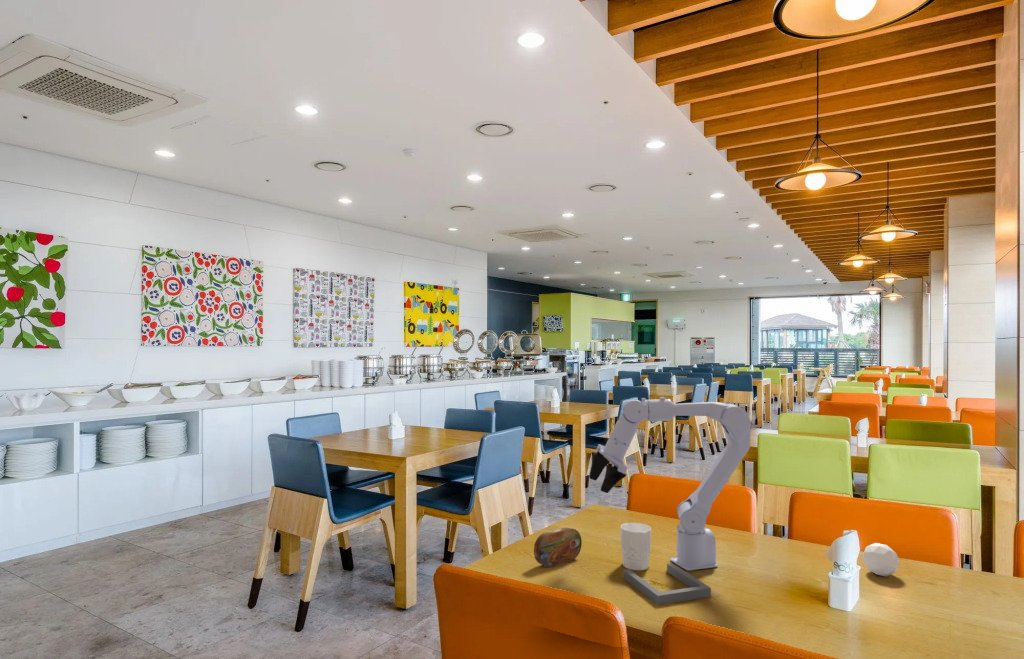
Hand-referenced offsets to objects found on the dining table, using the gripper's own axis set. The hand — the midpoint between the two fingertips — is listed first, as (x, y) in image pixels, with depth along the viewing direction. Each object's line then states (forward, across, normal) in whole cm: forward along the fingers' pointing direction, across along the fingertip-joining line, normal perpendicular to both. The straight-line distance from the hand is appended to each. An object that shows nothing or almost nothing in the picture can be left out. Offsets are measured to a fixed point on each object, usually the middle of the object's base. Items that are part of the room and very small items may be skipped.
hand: (598, 485), depth 156 cm
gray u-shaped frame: (+11, +25, +12) cm, 30 cm away
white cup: (+14, +12, +13) cm, 22 cm away
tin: (+22, +4, -4) cm, 23 cm away
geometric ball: (-12, +33, +64) cm, 73 cm away
